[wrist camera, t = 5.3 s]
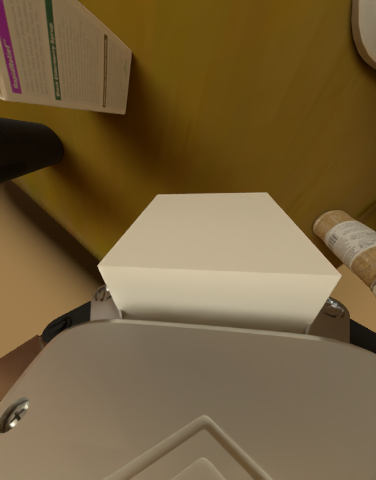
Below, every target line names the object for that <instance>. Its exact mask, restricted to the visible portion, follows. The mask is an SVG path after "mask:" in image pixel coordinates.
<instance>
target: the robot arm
mask: <svg viewBox="0 0 376 480" xmlns="http://www.w3.org/2000/svg"><path fill="white" fill-rule="evenodd" d="M351 23H352V32H353V39H354V42H355V45H356V48H357V51H358V53H359V54H360V56H361V57H362V58H363V60H364V61H365V63H367V64H368V65H370V66H371V67H372V68H374V69H375V70H376V0H353V2H352V17H351ZM0 480H376V333H375V332H373V331H371V330H369V329H368V328H366V327H364V326H362V325H361V324H359V323H357V322H355V321H353V320H352V319H350V315H349V312H348V310H347V308H346V307H345V306H344V305H343V304H341V303H340V302H339V301H337V300H335V299H334V298H331V297H328V299H327V300H326V302H325V303H324V305H323V307H322V308H321V310H320V311H319V313H318V315H317V316H316V318H315V319H314V321H313V322H312V324H307V325H306V327H305V329H304V330H303V334H296V333H287V332H277V331H266V330H254V329H243V328H231V327H219V326H207V325H195V324H183V323H170V322H157V321H144V320H127V319H124V315H123V313H122V311H121V309H118V308H117V306H116V304H115V302H114V300H113V298H112V296H111V294H110V292H109V289H108V287H107V285H103V286H101V287H99V288H98V289H96V290H95V291H94V293H93V294H92V298H91V301H89V302H87V303H85V304H84V305H81V306H80V307H78V308H76V309H74V310H72V311H70V312H68V313H66V314H64V315H62V316H60V317H58V318H57V319H55V320H53V321H52V322H51V323H50V324H48V326H47V327H46V328H45V329H44V331H43V333H42V335H41V336H38V335H36V336H34V337H33V338H32V339H30V340H28V341H27V342H25V343H24V344H22V345H20V346H19V347H17V348H16V349H14V350H13V351H11V352H9V353H8V354H7V355H5V356H3V357H2V358H0Z"/></svg>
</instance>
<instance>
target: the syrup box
mask: <svg viewBox="0 0 376 480" xmlns="http://www.w3.org/2000/svg"><path fill="white" fill-rule="evenodd" d="M131 56H132V51H131V50H130V49H129V48H128V47H127V46H126V45H125V44H124V43H123V42H122V41H121V40H120V39H119V38H118V37H117V36H116V35H115V34H114V33H113V32H111V31H110V30H109V29H108V28H107V27H106V26H105V25H104V24H103V23H102V22H101V21H100V20H98V19H97V18H96V17H95V16H94V15H93V14H92V13H91V12H90V11H88V10H87V9H86V8H85V7H84V6H83V5H82V4H81V3H80V2H79V1H78V0H0V99H2V100H5V101H15V102H24V103H32V104H40V105H48V106H56V107H64V108H71V109H80V110H88V111H96V112H106V113H114V114H122V115H124V114H125V113H126V104H127V96H128V86H129V76H130V66H131Z"/></svg>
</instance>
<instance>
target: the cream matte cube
mask: <svg viewBox="0 0 376 480" xmlns="http://www.w3.org/2000/svg"><path fill="white" fill-rule="evenodd" d="M98 268H99V271H100V273H101V275H102V277H103V279H104V281H105V283H106V285H107V287H108V289H109V292H110V294H111V296H112V298H113V300H114V302H115V304H116V306H117V308H118V309H121V311H122V313H123V315H124V319H127V320H144V321H157V322H170V323H183V324H195V325H207V326H219V327H231V328H243V329H254V330H266V331H277V332H287V333H296V334H303V330H304V329H305V327H306V325H307V324H312V322H313V321H314V319H315V318H316V316H317V315H318V313H319V311H320V310H321V308H322V307H323V305H324V303H325V302H326V300H327V299H328V297H329V295H330V294H331V292H332V291H333V289H334V288H335V286H336V284H337V283H338V281H339V280H340V278H341V276H342V275H341V274H340V273H339V272H338V271H337V270H336V269H335V268H334V266H333V265H332V264H331V263H330V262H329V261H328V260H327V259H326V258H325V257H324V255H323V254H322V253H321V252H320V251H319V250H318V249H317V248H316V247H315V245H314V244H313V243H312V242H311V241H310V240H309V239H308V238H307V237H306V235H305V234H304V233H303V232H302V231H301V230H300V229H299V228H298V227H297V225H296V224H295V223H294V222H293V221H292V220H291V219H290V218H289V217H288V216H287V214H286V213H285V212H284V211H283V210H282V209H281V208H280V207H279V206H278V204H277V203H276V202H275V201H274V200H273V199H272V198H271V197H270V196H269V194H268V193H218V194H165V195H157V196H156V197H155V198H154V199H153V201H152V202H151V203H150V204H149V205H148V206H147V208H146V209H145V210H144V211H143V212H142V214H141V215H140V216H139V217H138V218H137V220H136V221H135V222H134V223H133V224H132V225H131V227H130V228H129V229H128V230H127V231H126V233H125V234H124V235H123V236H122V237H121V238H120V240H119V241H118V242H117V243H116V244H115V246H114V247H113V248H112V249H111V250H110V251H109V253H108V254H107V255H106V256H105V257H104V259H103V260H102V261H101V262H100V263H99V264H98Z"/></svg>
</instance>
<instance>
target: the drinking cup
mask: <svg viewBox="0 0 376 480" xmlns="http://www.w3.org/2000/svg"><path fill="white" fill-rule="evenodd" d="M62 158H63V147H62V144H61V142H60V140H59V138H58V137H57V135H56V134H55V133H54V132H53V131H52V130H51V129H50V128H48V127H47V126H45V125H43V124H39V123H33V122H26V121H20V120H13V119H7V118H0V183H3V182H5V181H9V180H11V179H14V178H17V177H20V176H23V175H25V174H28V173H31V172H34V171H36V170H39V169H42V168H45V167H48V166H50V165H53V164H56V163H58V162H60V161H61V160H62Z"/></svg>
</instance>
